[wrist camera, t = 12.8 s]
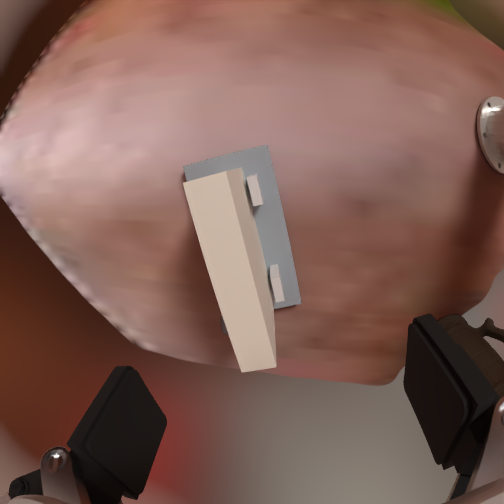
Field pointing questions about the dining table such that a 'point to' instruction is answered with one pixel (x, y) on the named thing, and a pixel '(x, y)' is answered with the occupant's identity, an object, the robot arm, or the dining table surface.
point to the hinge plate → (261, 215)
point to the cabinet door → (235, 265)
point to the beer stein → (478, 347)
